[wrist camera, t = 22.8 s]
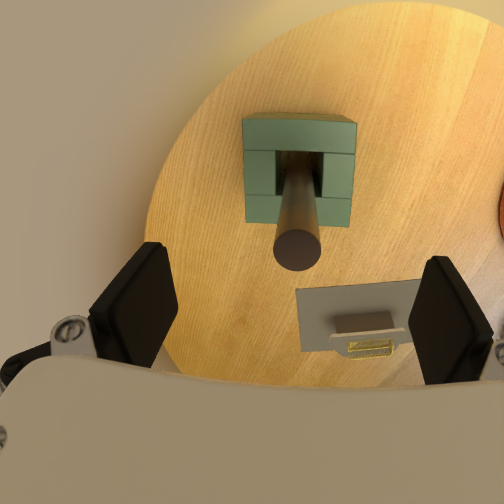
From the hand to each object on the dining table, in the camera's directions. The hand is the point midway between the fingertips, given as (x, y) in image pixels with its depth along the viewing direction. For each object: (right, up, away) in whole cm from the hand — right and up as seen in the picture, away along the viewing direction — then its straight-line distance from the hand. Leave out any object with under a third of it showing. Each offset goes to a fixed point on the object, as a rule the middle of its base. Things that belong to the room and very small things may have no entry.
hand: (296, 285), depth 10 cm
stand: (+3, +11, +20) cm, 24 cm away
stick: (+3, +11, +21) cm, 24 cm away
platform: (+14, -8, +30) cm, 34 cm away
